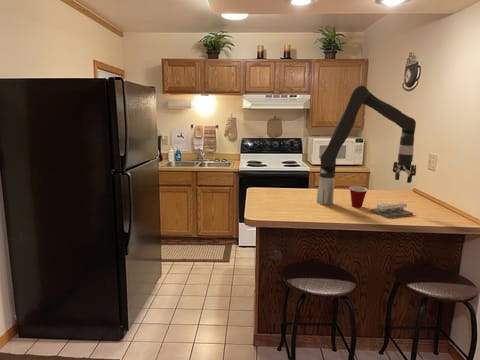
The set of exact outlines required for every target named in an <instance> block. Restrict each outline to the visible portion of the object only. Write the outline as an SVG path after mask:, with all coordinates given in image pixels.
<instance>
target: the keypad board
mask: <svg viewBox="0 0 480 360" xmlns="http://www.w3.org/2000/svg"><path fill="white" fill-rule="evenodd" d="M391 210H392V209H391V208H389V209H386V211H385V212H381V211H379V208H369V212H370V213H373V214H375V215H377V216H381V217H384V218H385V219H392V218H393V219H394V217H396V218H403V216H404V217H410V216H414V212H412V211H408V210H405V209H403V210H400V207H398V208H395V210H394V211H391Z"/></svg>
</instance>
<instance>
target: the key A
mask: <svg viewBox="0 0 480 360" xmlns="http://www.w3.org/2000/svg"><path fill="white" fill-rule="evenodd" d="M376 208H379V211H381V212H385V211H386V209H389V205H387V204H386V203H384V202H382V203H376ZM376 208H375V209H376Z"/></svg>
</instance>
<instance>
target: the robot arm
mask: <svg viewBox="0 0 480 360" xmlns="http://www.w3.org/2000/svg"><path fill="white" fill-rule="evenodd" d="M362 105H364V106H367V107H369V108H371V109H372V110H374V111H376V113H378V114H380V115H382V116H383V117H384V118H386V119H387V120H389V121H391V122H393V123H394V124H396V125H397V126H398V127H399V128H401V135H400V139H399V146H398V154H397V155H398V156H397V161H394V162H393V166H392V167H393V168H392V173H394V174H395V175H394V179H395V181H399V180H400V176H401V175H400V173H401V172H405V173H406V174H407V180H406V183H408V184H410V183H411V182H412V181H413V180H412V179H413V177H414V176H415V177H416V175H417V174H416V173H417V164H412V163H413V157H414V145H415V133H416V128H417V127H416V125H417V122H416V120H415V119H414V118H413V117H411V116H408V115H407V114H405V113H404V112H403V113H402V111H401V110H400V109H398V108H396V107H395V106H393V105H391V104H389V103H387V102H385V101H383V100H381V99H380V98H377V97H376V96H375V95H374V94H372V93H371V91H369V88H367V87H366V86H364V85H356V87H355V88H353V90H352V91H351V94H350V97H349V99H348V102H347V104H346V106H345V109H344V111H343V112H342V114H341V115H340V117H339V119H338V122H337V123H336V125H335V127H334V130H333V131H332V134H331V137H330V140H329V142H328V144H327V146H326V148H325V150H324V151H323V153H322V154H321V156H320V159H319V160H320V161H319V162H320V170H319V181H318V183H319V184H318V187H317V190H316V191H317V193H316V203H317V204H319V205H321V206H331V205H333V204H334V196H335V195H334V193H335V192H334V191H335V180H336V179H335V177H336V165H337V157H338V154H339V153H340V150H341V148H342V146H343V145H344V143H345V142H346V141H347V139H348V137H349V135H350V134H351V132H352V130H353V128H354V126H355V123H356V120H357V115H358V113H359V110H360V109H361V107H362Z"/></svg>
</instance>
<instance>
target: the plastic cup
mask: <svg viewBox="0 0 480 360" xmlns="http://www.w3.org/2000/svg"><path fill="white" fill-rule="evenodd" d="M349 190H350V191H349V192H350V200H351V207H353V208H355V209H361V208H362V207H363V204H364V201H365V197H366V194H367V192H368V188H367V187H364V186H359V185H352V186H349Z"/></svg>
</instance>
